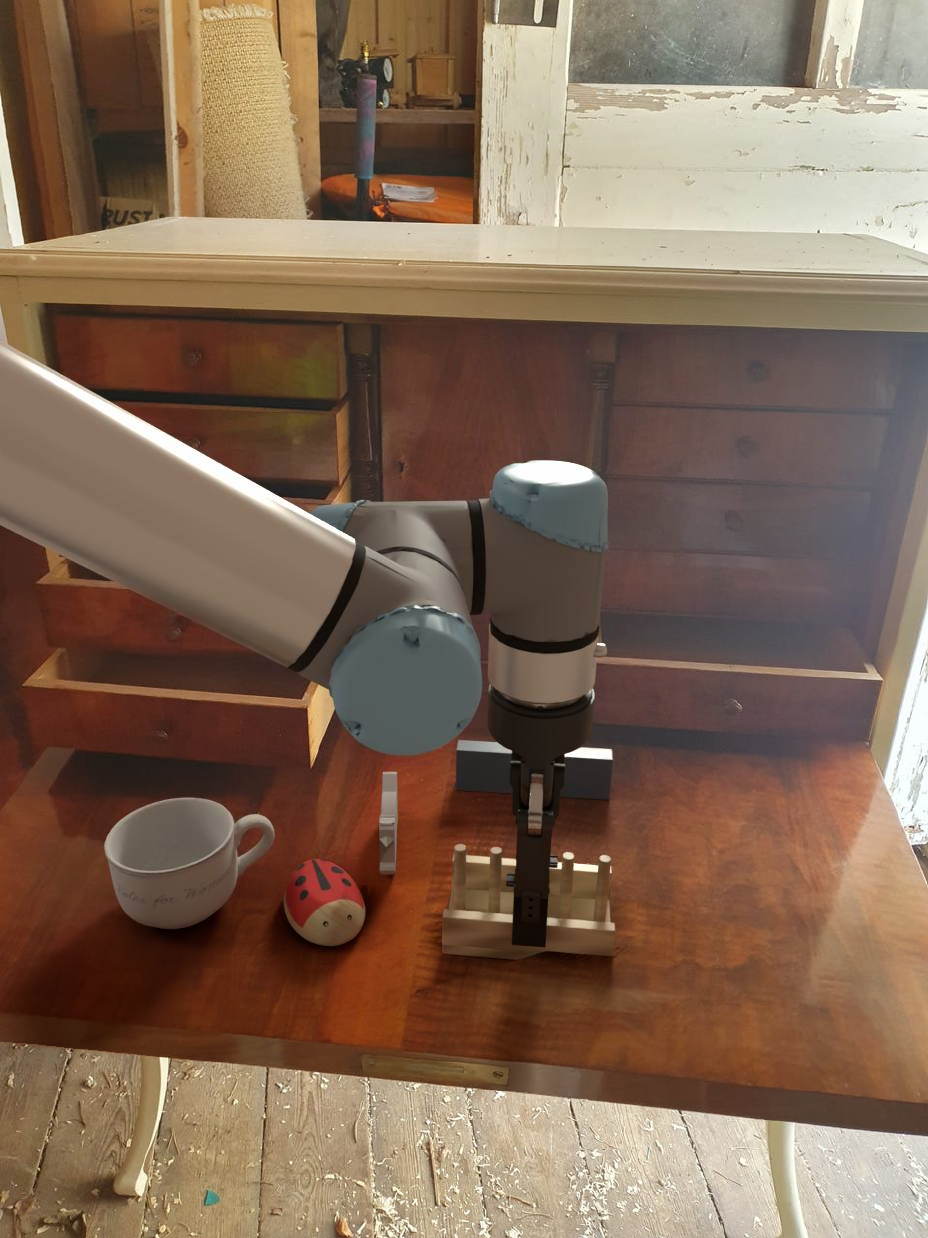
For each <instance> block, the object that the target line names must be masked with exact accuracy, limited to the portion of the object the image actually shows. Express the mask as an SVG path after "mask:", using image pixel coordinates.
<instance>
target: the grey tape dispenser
mask: <svg viewBox="0 0 928 1238" xmlns="http://www.w3.org/2000/svg"><path fill="white" fill-rule="evenodd" d="M381 780H382V782H381V783H382V785H381V805H380V807H381V809H380V810H381V811H380V814H379V818H378V819H379V821H378V822H379V823H378V840H379V841H378V842H379V844H378V845H379V875H396V872H397V871H396V868H397V845H398V841H397V839H398V832H397V831H398V822H399V808H398V805H399V803H398V771H382V779H381Z"/></svg>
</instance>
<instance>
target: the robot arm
mask: <svg viewBox="0 0 928 1238" xmlns="http://www.w3.org/2000/svg"><path fill="white" fill-rule="evenodd" d="M608 523H609V492H608V487H607V484H606V482H605V481H604V480H603V478H601V476H600V475H599V474H598V473H597V472H596V471H594V470H592V469H590V468H589V467H586V466H584V465H580V464H577V463H572V462H568V461H562V460H549V459H547V460H546V459H545V460H543V459H542V460H541V459H540V460H537V459H536V460H528V461H527V462H522V463H521V462H518V463H516V462H515V463H511V464H508V465H506V466H503V467H502V468H500V469H499V470H498V471H497V473H496V474H495V475H494V478H493V482H492V489H491V490H490V491H489V498H476V500H474V499H473V500H427V501H425V500H424V501H423V500H421V501H416V500H415V501H372V500H367V499H359V500H357V501H354V502H343V503H334V504H333V503H332V504H326V505H325V504H324V505H319V506H317V507H316V508H314V509H313V510H311V512H310V513H309V512H307V511H305V510H303V509H302V508H300V507H298V506H296V505H295V504H294V503H291V502H289V501H288V500H286V499H284V498H282V497H280V496H279V495H277V494H275V493H274V492H271V491H270V490H268V489H267V488H265V487H263V486H261V485H259V484H257V483H256V482H254V481H252V480H250V479H248V478H246V477H244V476H243V475H241V474H239V473H237V472H236V471H234V470H232V469H231V468H229V467H227V466H225V465H223V464H222V463H221V462H218V461H217V460H215V459H213V458H211V457H209V456H207V455H206V454H204V453H202V452H200V451H198V450H197V449H195V448H194V447H191V446H190V445H188V444H186V443H184V442H183V441H181V440H179V439H177V438H175V437H174V436H172V435H170V434H168V433H167V432H165V431H164V430H161V429H159V428H157V427H155V426H154V425H152V424H151V423H148V422H146V421H145V420H143V419H142V418H140V417H138V416H136V415H134V414H132V413H131V412H129V411H127V410H125V409H124V408H122V407H120V406H118V405H116V404H115V403H113V402H112V401H109V400H108V399H106V398H104V397H103V396H101V395H99V394H97V393H95V392H93V391H92V390H90V389H88V388H86V387H84V386H83V385H81V384H79V383H77V382H76V381H74V380H72V379H71V378H69V377H67V376H65V375H63V374H61V373H60V372H58V371H56V370H55V369H52V368H51V367H49V366H47V365H45V364H44V363H42V362H40V361H38V360H36V359H35V358H33V357H31V356H30V355H27V354H25V353H24V352H23V351H20V350H19V349H17V348H15V347H13V346H11V345H10V344H8V343H6V342H5V341H2V340H0V526H1V527H3V528H5V529H7V530H9V531H11V532H13V533H15V534H17V535H18V536H19V535H20V536H21V537H23V538H26V539H28V540H29V541H32V542H33V543H35V544H38V545H40V546H42V547H43V548H45V549H48V550H49V551H52V552H53V553H55V554H57V555H59V556H61V557H63V558H66V559H68V560H69V561H72V562H73V563H76V564H77V565H79V566H82V567H84V568H86V569H88V570H90V571H92V572H94V573H96V574H97V575H100V576H102V577H104V578H106V579H107V580H110V581H112V582H114V583H116V584H118V585H119V586H122V587H124V588H125V589H128V590H130V591H132V592H134V593H135V594H138V595H140V596H142V597H144V598H146V599H148V600H150V601H152V602H154V603H156V604H158V605H160V606H162V607H164V608H166V609H169V610H171V611H172V612H174V613H176V614H179V615H180V616H182V617H184V618H187V619H189V620H191V621H192V622H195V623H197V624H199V625H201V626H203V627H204V628H206V629H209V630H210V631H212V632H214V633H217V634H219V635H220V636H223V637H224V638H227V639H229V640H230V641H233V642H234V643H237V644H239V645H241V646H243V647H245V648H247V649H249V650H251V651H252V652H255V653H257V654H259V655H261V656H262V657H265V658H267V659H269V660H271V661H273V662H274V663H277V664H280V665H281V666H283V667H285V668H286V669H289V671H290V670H291V671H292V672H295V673H296V674H298V675H299V676H301V677H302V678H305V679H306V680H309V681H310V682H312V683H314V684H316V685H319V686H320V687H323V688H324V689H327V690H328V692H329V696H330V697H331V699H332V702H333V707H334V711H335V713H336V715H337V717H338V719H339V721H340V722H341V724H342V726H343V727H344V728H345V729H346V731H347V732H348V733H349V734H350V735H351V736H352V737H353V739H354V740H356V741H357V742H358V743H360V744H361V745H363V746H364V747H366V748H369V749H370V750H373V751H375V752H378V753H380V754H384V755H391V756H400V757H401V756H402V757H405V756H407V757H409V756H417V755H423V754H427V753H430V752H433V751H435V750H437V749H440V748H441V747H443V746H445V745H448V744H449V743H450V742H452V741H453V740H454V739H456V738H457V737H459V735H461V734H462V733H463V731H464V730H465V728H467V727H468V726H469V725H470V724H471V722H472V720H473V718H474V716H475V714H476V712H477V711H478V708H479V705H480V702H481V699H482V693H483V673H482V663H481V659H482V651H481V644H480V641H479V638H478V635H477V632H476V631H475V628H474V625H473V622H472V617H471V616H478V615H482V614H490V618H489V625H488V645H487V646H488V647H487V649H488V651H487V652H488V653H487V655H488V656H487V679H488V681H489V685H488V687H487V720H486V721H487V729H488V732H489V734H490V736H491V737H492V738H493V740H494V742H498V743H499V744H500V745H501V746H503V747H505V748H507V749H508V750H511V751H512V758H511V763H510V785H511V786H512V788H513V794H512V796H511V797H512V798H511V800H512V801H511V814H512V815H513V817H515V818H514V824H515V825H516V853H515V859H516V869H515V874H511V873H507V877H506V887H513V892H514V900H513V925H512V945H519V946H532V947H544V948H545V946H546V930H547V913H548V897H549V894H550V887H549V885H550V878H549V876H550V871H549V869H550V868H558V862H559V855H558V854H551V851H552V839H553V838H552V837H553V828H554V827H555V826H556V820H557V818H558V817H559V814H560V803H561V802H560V801H561V797H560V791H561V790H562V789H563V787H564V779H565V764H564V759H565V754H566V753H570V752H573V751H575V750H577V749H579V748H580V747H583V746H584V745H585V744H586V743H587V742H588V741H589V740H590V737H591V736H592V734H593V726H594V725H593V724H594V713H595V711H594V710H595V697H596V692H595V690H594V686H595V684H596V673H597V658H601V659H602V658H605V657H606V656H607V654H608V648H607V645H606V643H602V642H601V643H599V634H600V621H601V608H602V598H603V589H604V580H605V579H604V578H605V570H606V569H605V568H606V559H607V551H608V550H609V547H610V546H609V545H610V541H609V540H608V536H609V534H608V533H609V532H608V529H609V527H608V526H609V525H608Z"/></svg>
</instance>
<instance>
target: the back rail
mask: <svg viewBox="0 0 928 1238" xmlns="http://www.w3.org/2000/svg"><path fill="white" fill-rule="evenodd" d="M455 752H456V753H455V790H456V791H464V792H465V791H466V792H478V793H480V792H481V793H492V794H493V793H494V794H495V793H496V794H508V795H509V794H510V795H511V794H512V795H513V788H512V786H511V785H510V763H511V758H512V751H511V750H508V749H507V748H505V747H503V746H501V745H500V744H499V743H498V742H496V741H484V740H469V739H468V740H466V739H465V740H464V739H457V743H456V750H455ZM613 762H614V757H613V749H612V748H597V747H583V746H582V747H580V748H579V749H577V750H575V751H573V752H570V753H566V754H565V759H564V764H565V779H564V787H563V789H562V790H561V791H560V798H572V799H588V800H603V801H610V795H611V785H612V774H613V765H614V764H613Z"/></svg>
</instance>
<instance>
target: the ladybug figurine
mask: <svg viewBox="0 0 928 1238" xmlns="http://www.w3.org/2000/svg"><path fill="white" fill-rule="evenodd" d="M283 908H284V909H283V910H284V913H285V916H286V918H287V920H288V923H289V924H290V926H291V927H292V928H293V930H294V931H295V932H296V933H297V934H298V935H299V936H300V937H301V938H303V939H304V940H306V941H308V942H310V943H312V944H315V945H319V946H322V947H323V946H324V947H336V946H342V945H344V944H346V943H348V942H350V941H351V940H353V939H354V938H356V937H357V935H358V934H359V933H360V932H361V929H362V928H363V925H364V922H365V918H366V905H365V901H364V898H363V894H362V892H361V891H360V888H359V886H358V885H357V884H356V882H355V880H354V879H353V878H352V877H351V876H350V874H349V873H348V872H347V871H346V870H344V869H343V868H342V867H340V866H338V865H337V864H336V863H334V862H331V861H329V860H326V859H322V858H311V859H308V860H306V861H304V862H303V863H301V864H299V865H298V866H297V868H295V870H294V871H293V872H292V874H291V876H290V877H289V879H288V881H287V883H286V886H285V890H284V893H283Z"/></svg>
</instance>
